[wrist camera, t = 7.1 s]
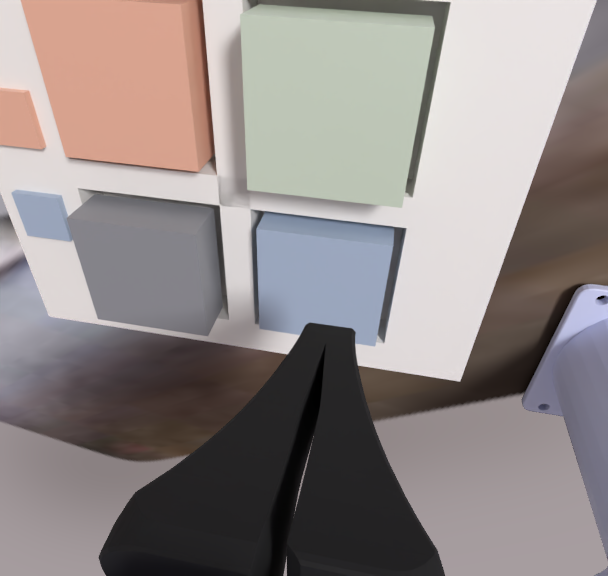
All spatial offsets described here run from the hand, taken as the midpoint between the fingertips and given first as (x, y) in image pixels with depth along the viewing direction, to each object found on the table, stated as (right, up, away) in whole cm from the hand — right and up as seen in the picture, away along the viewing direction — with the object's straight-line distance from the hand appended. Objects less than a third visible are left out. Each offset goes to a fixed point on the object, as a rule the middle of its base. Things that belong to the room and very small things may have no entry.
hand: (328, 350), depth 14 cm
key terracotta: (-6, +9, +3) cm, 12 cm away
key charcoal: (-7, +3, +7) cm, 10 cm away
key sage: (0, +8, +2) cm, 8 cm away
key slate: (0, +3, +7) cm, 7 cm away
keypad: (-3, +7, +6) cm, 9 cm away
